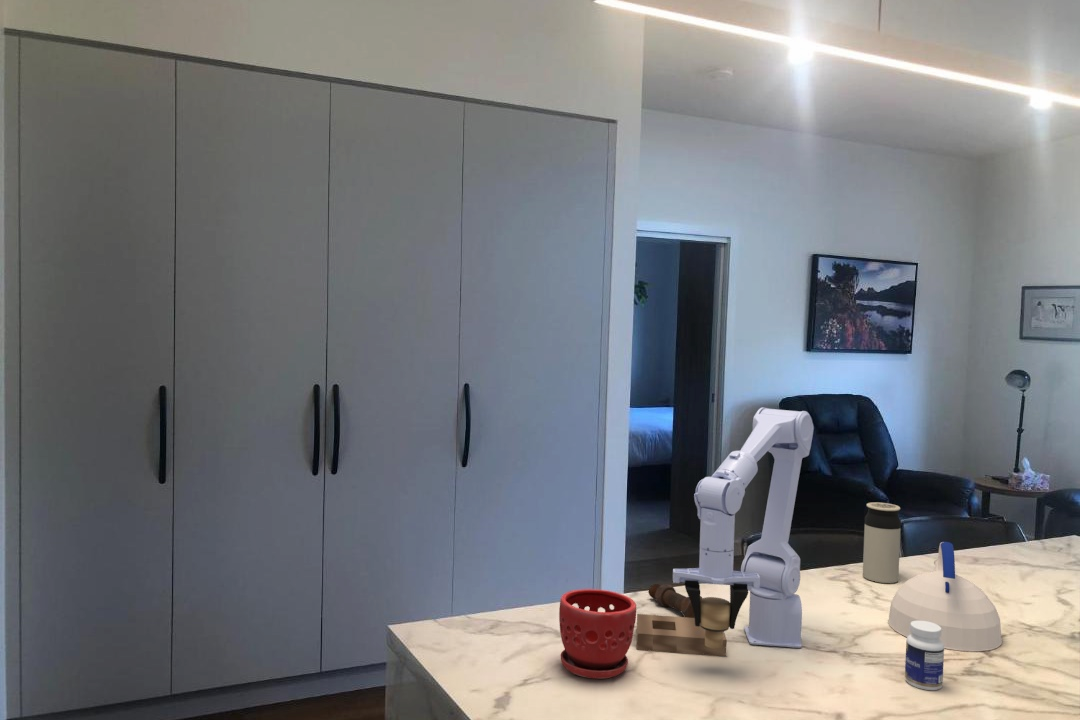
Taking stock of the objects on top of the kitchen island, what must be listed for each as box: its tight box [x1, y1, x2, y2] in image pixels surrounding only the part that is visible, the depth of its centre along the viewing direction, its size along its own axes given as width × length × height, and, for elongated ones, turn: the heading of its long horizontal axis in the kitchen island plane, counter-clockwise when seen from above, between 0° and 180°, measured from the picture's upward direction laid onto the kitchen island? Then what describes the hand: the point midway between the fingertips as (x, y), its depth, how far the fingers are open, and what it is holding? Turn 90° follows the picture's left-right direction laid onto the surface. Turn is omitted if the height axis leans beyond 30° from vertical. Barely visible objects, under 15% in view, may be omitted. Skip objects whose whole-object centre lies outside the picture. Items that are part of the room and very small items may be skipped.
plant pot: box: [558, 588, 637, 680], centre depth 131 cm, size 13×13×12 cm
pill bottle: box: [904, 621, 945, 691], centre depth 129 cm, size 6×6×10 cm
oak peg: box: [699, 596, 731, 649], centre depth 132 cm, size 5×5×8 cm
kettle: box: [887, 541, 1003, 653], centre depth 153 cm, size 20×21×18 cm
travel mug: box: [862, 501, 902, 584], centre depth 186 cm, size 8×8×18 cm
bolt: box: [648, 583, 703, 618], centre depth 161 cm, size 6×5×15 cm
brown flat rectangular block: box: [636, 613, 727, 657], centre depth 144 cm, size 16×10×3 cm, turn 83°
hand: (714, 625), depth 132 cm, fingers closed on oak peg, 5 cm apart
